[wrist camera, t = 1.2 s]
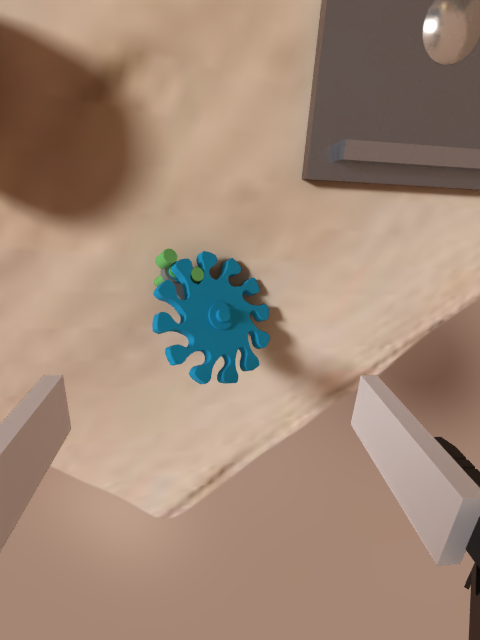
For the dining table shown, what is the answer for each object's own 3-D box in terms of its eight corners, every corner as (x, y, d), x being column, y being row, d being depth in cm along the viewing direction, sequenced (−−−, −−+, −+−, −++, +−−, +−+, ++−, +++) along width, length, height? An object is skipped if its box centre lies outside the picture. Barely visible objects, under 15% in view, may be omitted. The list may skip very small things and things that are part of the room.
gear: (293, 329, 28) (220, 416, 22) (250, 339, 33) (180, 413, 27) (220, 215, 26) (116, 278, 20) (184, 243, 30) (91, 301, 24)
